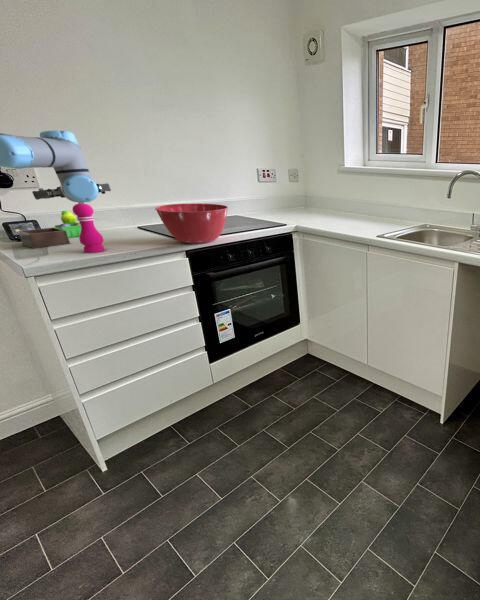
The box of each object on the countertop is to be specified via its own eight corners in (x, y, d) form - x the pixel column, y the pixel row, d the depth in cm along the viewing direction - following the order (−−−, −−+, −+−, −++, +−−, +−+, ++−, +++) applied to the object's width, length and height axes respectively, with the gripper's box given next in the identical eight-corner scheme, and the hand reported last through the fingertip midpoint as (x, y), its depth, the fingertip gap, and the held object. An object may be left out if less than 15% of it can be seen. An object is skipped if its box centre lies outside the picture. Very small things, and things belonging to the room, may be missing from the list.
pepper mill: (107, 251, 139) (92, 199, 132) (83, 253, 135) (67, 200, 127) (105, 248, 144) (91, 197, 137) (82, 250, 140) (67, 198, 132)
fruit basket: (63, 238, 157) (55, 213, 153) (56, 236, 162) (47, 211, 158) (94, 234, 167) (87, 210, 162) (86, 232, 171) (79, 209, 167)
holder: (33, 248, 140) (28, 234, 138) (22, 244, 145) (17, 231, 143) (70, 243, 149) (65, 230, 147) (58, 240, 155) (54, 227, 153)
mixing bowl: (245, 239, 168) (241, 206, 162) (188, 250, 144) (181, 212, 139) (207, 232, 180) (202, 201, 174) (148, 242, 156) (140, 206, 150)
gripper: (29, 208, 104) (29, 208, 119) (128, 196, 120) (118, 197, 135) (16, 182, 101) (18, 185, 116) (119, 173, 117) (110, 176, 132)
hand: (72, 191), depth 125 cm, fingers open, 13 cm apart
